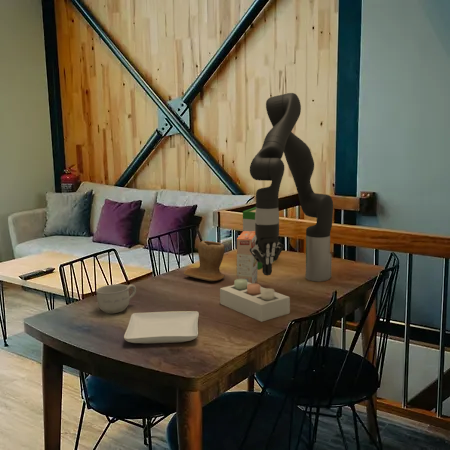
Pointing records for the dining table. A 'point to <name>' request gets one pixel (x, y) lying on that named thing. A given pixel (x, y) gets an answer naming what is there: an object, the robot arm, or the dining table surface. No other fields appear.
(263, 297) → the ivory button
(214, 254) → the brown boot
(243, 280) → the sage button
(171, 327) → the salad plate
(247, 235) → the cracker box
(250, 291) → the terracotta button
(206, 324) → the dining table surface
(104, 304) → the teacup
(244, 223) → the hardback book
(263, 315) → the console
